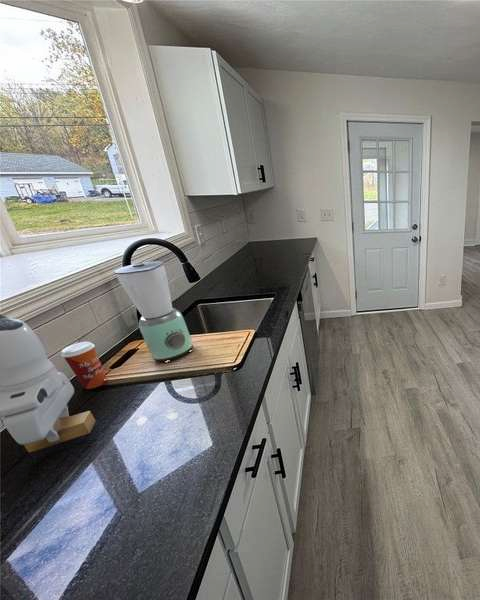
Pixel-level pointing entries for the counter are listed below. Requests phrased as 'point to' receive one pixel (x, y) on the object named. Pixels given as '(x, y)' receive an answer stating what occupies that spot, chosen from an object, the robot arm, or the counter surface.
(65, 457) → the counter surface
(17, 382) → the robot arm
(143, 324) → the juicer
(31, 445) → the oak bar
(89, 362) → the paper cup
